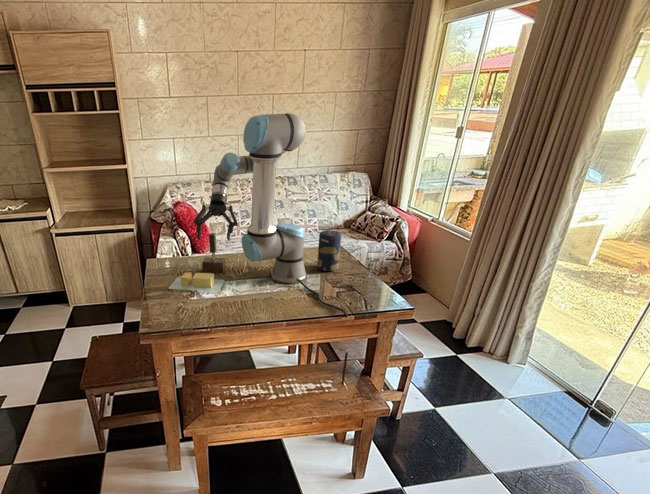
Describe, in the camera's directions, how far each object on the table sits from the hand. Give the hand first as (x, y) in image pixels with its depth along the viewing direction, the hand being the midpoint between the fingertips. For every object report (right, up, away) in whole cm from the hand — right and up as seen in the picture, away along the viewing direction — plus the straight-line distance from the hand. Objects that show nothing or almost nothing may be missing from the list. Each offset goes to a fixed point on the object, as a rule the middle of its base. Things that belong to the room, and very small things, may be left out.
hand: (213, 238), depth 182 cm
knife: (0, -13, +6) cm, 14 cm away
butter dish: (-7, -22, -7) cm, 24 cm away
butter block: (-4, -21, -8) cm, 23 cm away
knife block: (0, -14, +6) cm, 15 cm away
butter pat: (-11, -21, -7) cm, 24 cm away
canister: (+52, -13, +5) cm, 54 cm away
